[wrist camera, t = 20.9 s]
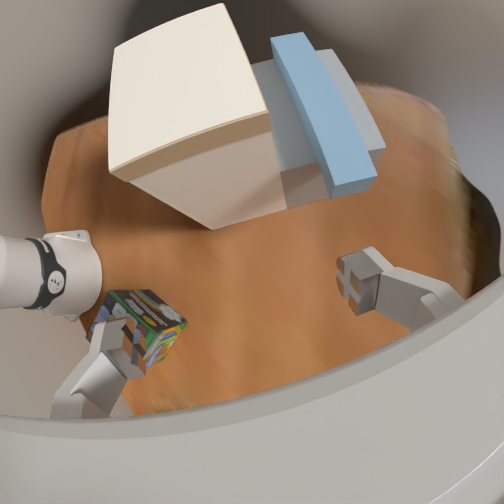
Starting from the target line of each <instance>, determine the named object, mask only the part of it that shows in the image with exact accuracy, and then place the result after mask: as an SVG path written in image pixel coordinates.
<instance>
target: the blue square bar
mask: <svg viewBox="0 0 504 504" xmlns="http://www.w3.org/2000/svg"><path fill="white" fill-rule="evenodd" d="M271 44H272V50H273V56H274V60H275V62H276V64H277V66H278V68H279V71H280V73H281V75H282V77H283V79H284V81H285V83H286V86H287V88H288V90H289V92H290V95H291V97H292V99H293V101H294V104H295V106H296V108H297V111H298V113H299V116H300V118H301V120H302V123H303V125H304V128H305V130H306V133H307V135H308V138H309V140H310V143H311V146H312V148H313V151H314V153H315V156H316V159H317V162H318V164H319V167H320V170H321V173H322V176H323V178H324V181H325V184H326V187H327V190H328V193H329V196H330V199H333V198H337V197H341V196H345V195H349V194H353V193H357V192H361V191H365V190H368V189H369V187H370V186H371V184H372V183H373V181H374V180H375V179H376V177H377V176H378V175H377V173H376V170H375V168H374V165H373V163H372V160H371V158H370V156H369V153H368V151H367V149H366V146H365V144H364V142H363V139H362V137H361V135H360V133H359V131H358V128H357V126H356V124H355V122H354V120H353V118H352V116H351V114H350V112H349V110H348V108H347V106H346V104H345V102H344V100H343V98H342V96H341V94H340V93H339V91H338V89H337V87H336V85H335V83H334V82H333V80H332V78H331V76H330V75H329V73H328V71H327V69H326V68H325V66H324V64H323V63H322V61H321V59H320V58H319V56H318V55H317V53H316V51H315V50H314V48H313V47H312V45H311V44H310V42H309V41H308V39H307V38H306V36H305V35H304V33H303V32H301V33H295V34H289V35H284V36H278V37H273V38H271Z"/></svg>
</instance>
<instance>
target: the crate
mask: <svg viewBox="0 0 504 504" xmlns="http://www.w3.org/2000/svg"><path fill="white" fill-rule="evenodd" d="M316 53H317V55H318V56H319V58H320V59H321V61H322V63H323V64H324V66H325V68H326V69H327V71H328V73H329V75H330V76H331V78H332V80H333V82H334V83H335V85H336V87H337V89H338V91H339V93H340V94H341V96H342V98H343V100H344V102H345V104H346V106H347V108H348V110H349V112H350V114H351V116H352V118H353V120H354V122H355V124H356V126H357V128H358V131H359V133H360V135H361V137H362V139H363V142H364V144H365V146H366V149H367V151H368V153H369V156H370V158H371V160H372V163H373V165H374V167H375V165H376V164H377V162H378V161H379V159H380V157H381V156H382V154H383V152H384V151H385V149H386V145H385V143H384V141H383V138H382V136H381V134H380V132H379V130H378V128H377V126H376V124H375V122H374V120H373V118H372V116H371V114H370V112H369V110H368V108H367V106H366V104H365V103H364V101H363V99H362V97H361V95H360V93H359V92H358V90H357V88H356V86H355V85H354V83H353V81H352V80H351V78H350V76H349V75H348V73H347V72H346V70H345V68H344V67H343V65H342V64H341V62H340V60H339V59H338V57H337V56H336V54H335V53H334V51H333V50H332V49H328V50H321V51H316ZM251 68H252V70H253V73H254V75H255V78H256V80H257V83H258V86H259V88H260V91H261V93H262V96H263V99H264V101H265V104H266V107H267V109H268V112H269V117H270V121H271V126H272V131H271V133H272V138H273V142H274V147H275V151H276V156H277V161H278V166H279V171H280V176H281V181H282V186H283V191H284V196H285V201H286V207H287V209H289V208H293V207H297V206H300V205H304V204H308V203H312V202H315V201H319V200H323V199H327V198H330V196H329V193H328V190H327V187H326V184H325V181H324V178H323V176H322V173H321V170H320V167H319V164H318V162H317V159H316V156H315V153H314V151H313V148H312V146H311V143H310V140H309V138H308V135H307V133H306V130H305V128H304V125H303V123H302V120H301V118H300V116H299V113H298V111H297V108H296V106H295V104H294V101H293V99H292V97H291V95H290V92H289V90H288V88H287V86H286V83H285V81H284V79H283V77H282V75H281V73H280V71H279V68H278V66H277V64H276V62H275V60H274V59H272V60H268V61H264V62H260V63H256V64H252V65H251Z"/></svg>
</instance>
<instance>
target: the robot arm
mask: <svg viewBox="0 0 504 504" xmlns="http://www.w3.org/2000/svg"><path fill="white" fill-rule="evenodd" d="M337 268H338V269H339V272H338V274H337V275H336V276H337V285H338V289H339V291H340V293H341V295H342V296H343V297H344V298H346V299H348V300H349V306H350V308H351V309H352V311H353V312H354V313H355V315H356V316H358V315H361V314H364V313H366V312H369V311H371V310H374V309H375V310H376V311H377V312H379V313H381V314H383V315H385V316H387V317H389V318H391V319H392V320H394V321H396V322H398V323H400V324H402V325H404V326H406V327H407V328H409V329H411V331H410V333H409V334H407V335H405V336H403V337H401V338H399V339H397V340H395V341H393V342H391V343H389V344H387V345H385V346H383V347H380V348H378V349H376V350H374V351H372V352H369V353H367V354H365V355H363V356H360V357H358V358H356V359H353V360H351V361H348V362H346V363H344V364H341V365H339V366H336V367H334V368H331V369H328V370H326V371H323V372H320V373H318V374H315V375H312V376H309V377H306V378H303V379H301V380H298V381H295V382H292V383H288V384H285V385H282V386H279V387H276V388H272V389H269V390H265V391H262V392H258V393H255V394H251V395H247V396H243V397H239V398H235V399H231V400H227V401H222V402H218V403H213V404H208V405H203V406H198V407H193V408H188V409H182V410H176V411H169V412H163V413H155V414H147V415H138V416H128V417H117V418H112V417H110V416H109V415H110V413H111V410H112V409H113V407H114V405H115V403H116V401H117V399H118V397H119V395H120V393H121V392H122V390H123V388H124V386H125V384H126V382H127V379H132V378H137V377H142V376H146V361H145V360H144V359H143V357H144V356H145V354H146V351H147V347H146V342H145V338H144V336H143V334H142V333H141V331H140V330H138V329H136V328H135V322H134V321H133V319H132V318H131V317H129V316H128V317H123V318H118V319H114V320H109V321H105V322H100V323H97V324H96V325H95V328H94V332H93V336H92V340H91V344H90V348H89V353H88V354H87V355H85V356H84V357H83V358H82V360H81V361H80V362H79V363H78V364H77V366H76V367H75V368H74V369H73V371H72V372H71V373H70V375H69V376H68V377H67V378H66V380H65V381H64V382H63V384H62V385H61V386H60V387H59V389H58V390H57V391H56V393H55V394H54V399H53V404H52V410H51V415H50V419H43V418H28V417H16V416H8V415H1V414H0V504H504V274H503V275H502V276H500V277H499V278H498V279H496V280H495V281H493V282H492V283H491V284H489V285H488V286H487V287H485V288H484V289H482V290H481V291H479V292H478V293H476V294H475V295H473V296H472V297H470V298H469V299H467V300H466V301H465V300H464V299H463V298H462V297H461V296H460V295H459V294H458V293H457V292H456V291H455V290H454V289H453V288H452V287H451V286H450V285H449V284H448V283H446V282H443V281H440V280H437V279H434V278H431V277H428V276H425V275H421V274H418V273H415V272H412V271H409V270H406V269H403V268H400V267H396V268H394V267H393V266H392V265H391V264H390V263H389V262H388V261H387V260H386V259H385V258H384V257H383V256H382V255H381V254H380V253H379V252H378V251H377V250H376V249H375V248H374V247H371V246H370V247H367V248H364V249H361V250H360V251H356V252H353V253H350V254H347V255H344V256H341V257H338V258H337ZM101 285H102V269H101V263H100V260H99V257H98V255H97V253H96V251H95V249H94V248H93V246H92V244H91V241H90V236H89V233H88V231H87V230H75V231H65V232H56V233H48V234H45V235H44V237H43V238H41V239H38V238H26V239H20V238H15V237H9V236H4V235H0V309H3V308H15V307H23V308H24V309H30V310H38V309H42V311H43V312H45V313H46V315H48V316H64V317H65V318H67V319H68V320H69V321H71V322H75V321H77V319H78V318H79V317H80V315H81V314H82V313H84V312H86V311H88V310H89V309H90V308H92V306H93V305H94V304H95V303H96V301H97V299H98V297H99V294H100V290H101Z"/></svg>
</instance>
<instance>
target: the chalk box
mask: <svg viewBox="0 0 504 504" xmlns="http://www.w3.org/2000/svg"><path fill="white" fill-rule="evenodd" d="M128 316H129V317H131V318H132V319H133V321H134V322H135V328H136V329H138V330H140V331H141V333H142V334H143V336H144V338H145V342H146V347H147V351H146V354H145V356H144V357H143V359H144V360H145V361H146V369H147V368H149V367H151V366H152V365H154V364H156V363H158V362H159V361H161V360H163V358H164V357H165V355H166V354H167V352H168V351H169V349H170V348H171V347H172V345H173V344H174V342H175V341H176V339H177V338H178V336H179V334H180V333H181V331H182V330H183V328H184V327H185V325H186V324H187V321H186V320H185V319H184V318H183V317H182V316H181V315H179V314H178V313H177V312H176V311H174V310H173V309H172V308H171V307H170V306H169V305H167V304H166V303H165V302H164V301H162V300H161V299H160V298H159V297H158V296H157V295H155V294H154V293H153V292H152V291H151V290H116V291H115V290H114V291H113V290H109V291H108V293H107V295H106V297H105V299H104V301H103V303H102V305H101V307H100V309H99V311H98V313H97V315H96V317H95V319H94V321H93V323H92V325H91V327H90V329H89V331H88V333H87V335H86V339H87V340H88V341H89V342H90V343H91V340H92V336H93V332H94V328H95V325H96V324H97V323H100V322H105V321H109V320H114V319H118V318H123V317H128Z"/></svg>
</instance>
